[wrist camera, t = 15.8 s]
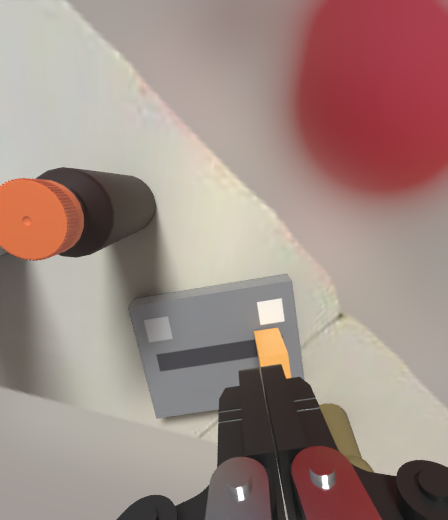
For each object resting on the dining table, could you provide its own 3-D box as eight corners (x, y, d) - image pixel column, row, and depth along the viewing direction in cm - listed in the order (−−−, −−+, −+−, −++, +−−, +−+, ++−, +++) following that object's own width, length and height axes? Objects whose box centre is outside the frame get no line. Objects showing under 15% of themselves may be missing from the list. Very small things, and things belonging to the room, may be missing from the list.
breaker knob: (259, 367, 39) (265, 398, 33) (253, 331, 38) (259, 357, 32) (283, 363, 39) (293, 394, 33) (278, 327, 38) (287, 352, 32)
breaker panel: (161, 403, 44) (156, 418, 41) (135, 298, 41) (128, 307, 38) (300, 382, 43) (306, 396, 40) (286, 273, 40) (291, 280, 37)
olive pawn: (333, 445, 46) (366, 523, 35) (298, 429, 45) (321, 504, 34) (355, 414, 45) (397, 485, 34) (320, 397, 44) (350, 464, 33)
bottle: (88, 200, 38) (-56, 212, 18) (129, 163, 37) (23, 135, 17) (127, 242, 39) (30, 297, 19) (167, 208, 38) (108, 229, 19)
